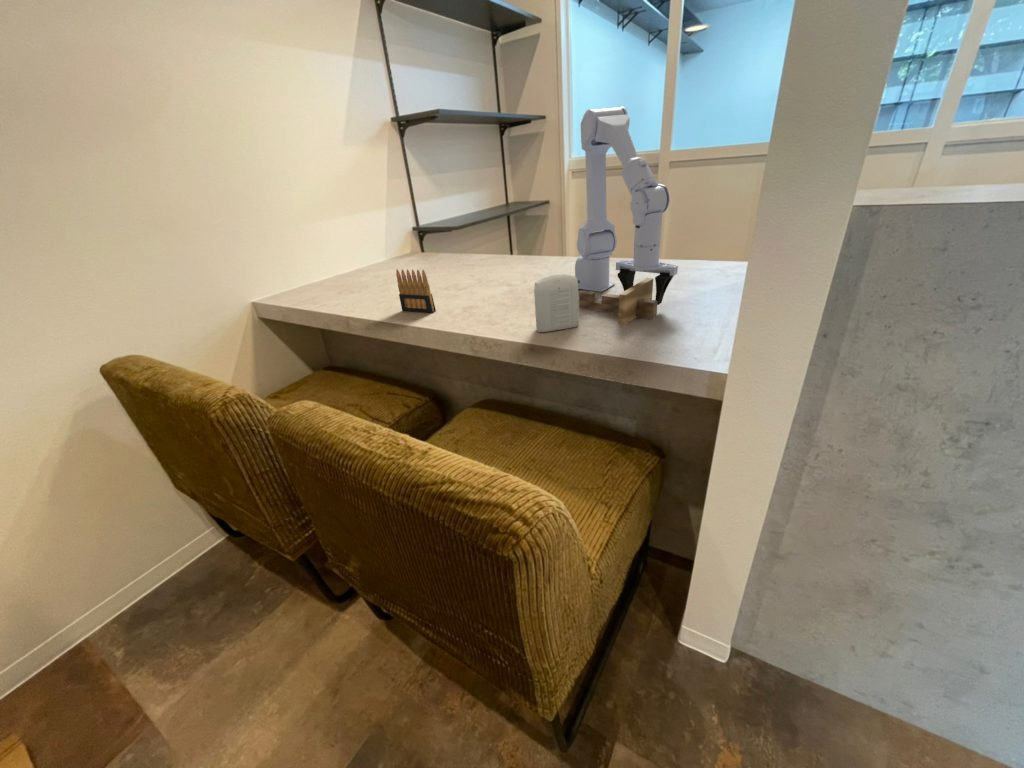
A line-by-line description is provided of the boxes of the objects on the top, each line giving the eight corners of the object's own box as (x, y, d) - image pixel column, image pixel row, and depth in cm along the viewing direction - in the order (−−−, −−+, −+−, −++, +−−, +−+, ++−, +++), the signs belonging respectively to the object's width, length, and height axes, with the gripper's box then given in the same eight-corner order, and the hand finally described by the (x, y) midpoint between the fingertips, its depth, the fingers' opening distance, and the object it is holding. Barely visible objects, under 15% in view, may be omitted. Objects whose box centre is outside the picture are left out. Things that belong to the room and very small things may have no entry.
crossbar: (618, 323, 96) (619, 294, 93) (645, 305, 105) (647, 277, 101) (624, 324, 95) (625, 295, 92) (651, 306, 104) (653, 278, 100)
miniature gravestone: (575, 321, 100) (573, 269, 94) (581, 327, 96) (580, 274, 90) (534, 328, 99) (530, 277, 93) (539, 334, 95) (535, 281, 89)
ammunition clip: (436, 311, 117) (427, 268, 111) (432, 313, 116) (423, 270, 110) (405, 309, 121) (396, 268, 116) (402, 311, 120) (392, 270, 114)
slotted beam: (579, 307, 108) (579, 292, 106) (583, 305, 109) (583, 290, 107) (652, 319, 96) (653, 303, 94) (656, 317, 97) (657, 300, 95)
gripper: (609, 246, 97) (608, 302, 103) (670, 250, 88) (665, 310, 95) (624, 240, 101) (622, 294, 108) (683, 243, 92) (677, 301, 99)
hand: (643, 301), depth 101 cm, fingers open, 7 cm apart
